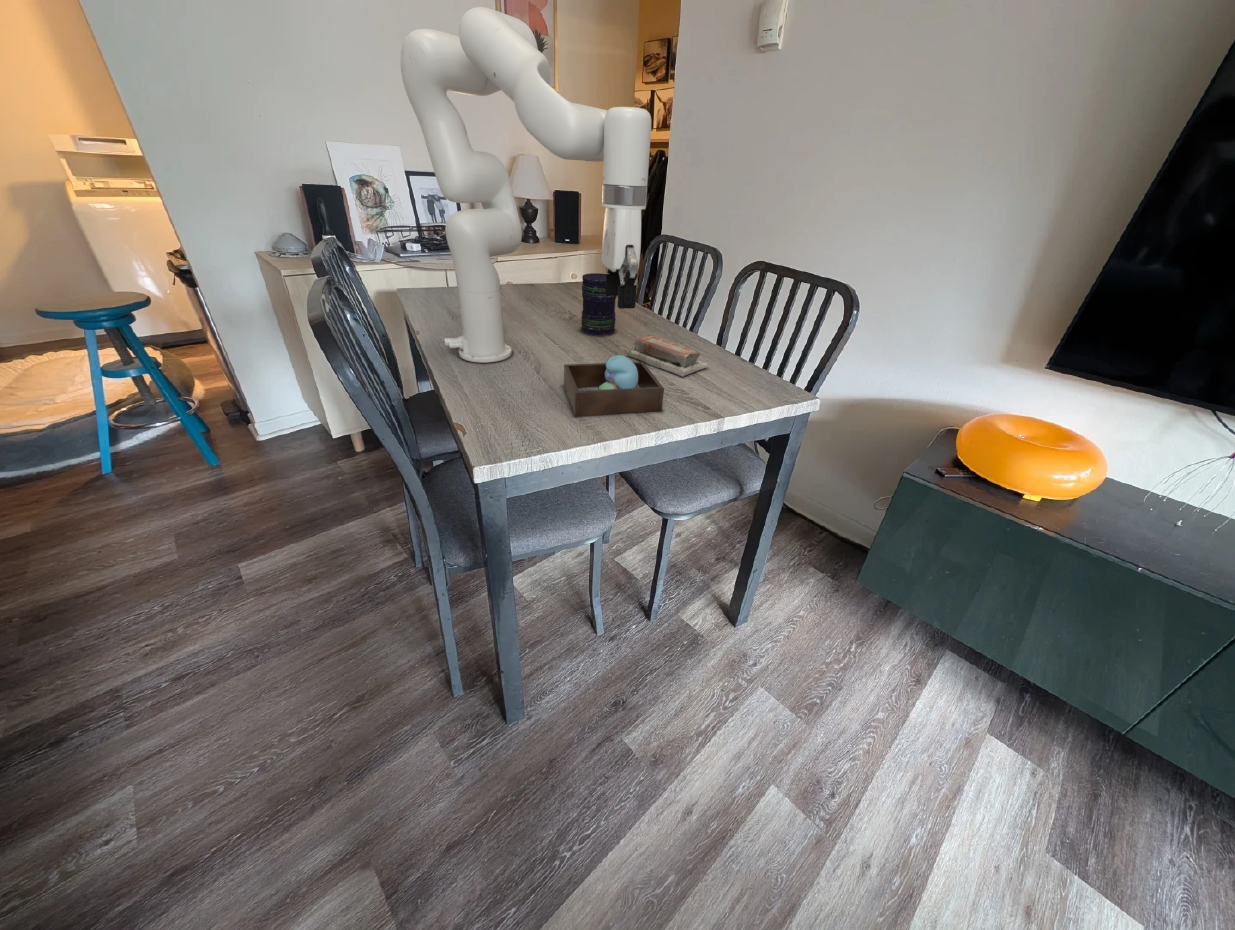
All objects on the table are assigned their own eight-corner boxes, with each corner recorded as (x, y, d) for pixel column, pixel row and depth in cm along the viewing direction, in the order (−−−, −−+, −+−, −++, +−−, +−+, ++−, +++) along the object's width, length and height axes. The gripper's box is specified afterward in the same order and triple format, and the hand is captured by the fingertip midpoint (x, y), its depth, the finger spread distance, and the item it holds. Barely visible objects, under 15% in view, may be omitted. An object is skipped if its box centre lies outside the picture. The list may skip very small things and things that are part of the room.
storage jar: (614, 337, 134) (617, 281, 126) (579, 335, 134) (580, 279, 126) (615, 326, 142) (617, 274, 134) (582, 324, 142) (583, 272, 134)
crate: (575, 416, 91) (575, 392, 88) (563, 386, 103) (563, 364, 100) (661, 411, 95) (664, 388, 92) (641, 382, 107) (643, 361, 104)
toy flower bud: (576, 361, 93) (621, 346, 99) (578, 401, 98) (621, 384, 105) (599, 373, 89) (645, 356, 95) (600, 414, 94) (644, 395, 100)
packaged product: (628, 338, 118) (654, 331, 124) (627, 356, 121) (653, 349, 127) (685, 358, 108) (710, 349, 114) (682, 378, 110) (707, 368, 117)
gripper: (592, 194, 87) (590, 291, 96) (615, 201, 72) (611, 314, 82) (631, 195, 88) (626, 290, 97) (661, 202, 74) (652, 313, 83)
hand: (619, 301), depth 90 cm, fingers open, 9 cm apart
